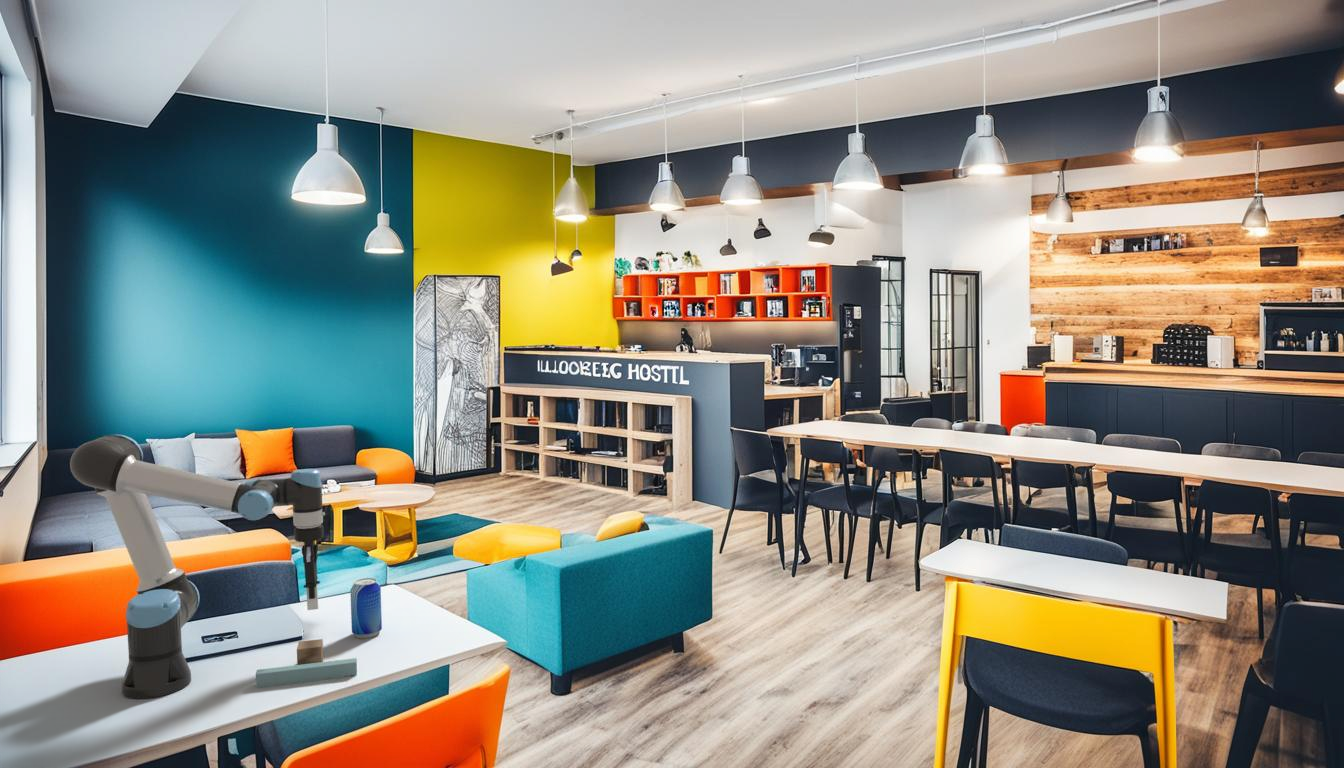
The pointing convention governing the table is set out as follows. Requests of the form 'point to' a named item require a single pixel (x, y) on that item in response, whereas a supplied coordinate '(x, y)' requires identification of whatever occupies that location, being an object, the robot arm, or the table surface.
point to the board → (305, 672)
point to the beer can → (366, 608)
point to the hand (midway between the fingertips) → (312, 608)
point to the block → (310, 652)
